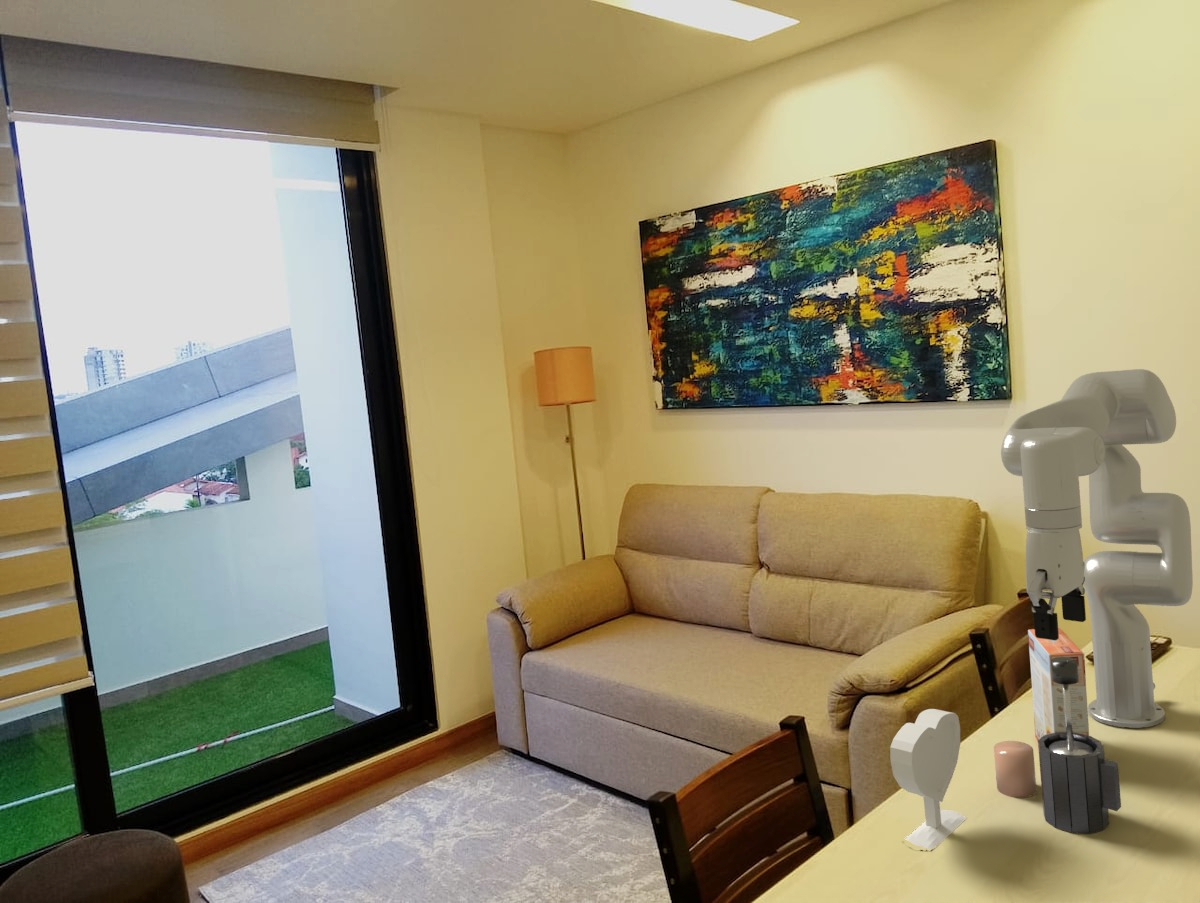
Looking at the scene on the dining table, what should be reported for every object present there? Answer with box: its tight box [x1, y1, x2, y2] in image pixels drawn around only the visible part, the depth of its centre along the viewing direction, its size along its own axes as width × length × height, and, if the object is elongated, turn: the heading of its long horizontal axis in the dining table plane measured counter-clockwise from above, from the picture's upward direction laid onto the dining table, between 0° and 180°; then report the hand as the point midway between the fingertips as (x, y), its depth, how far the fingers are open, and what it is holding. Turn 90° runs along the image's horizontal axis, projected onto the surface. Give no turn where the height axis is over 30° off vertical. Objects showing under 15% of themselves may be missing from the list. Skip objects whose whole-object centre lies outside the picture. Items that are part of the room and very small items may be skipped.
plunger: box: [1049, 657, 1093, 755], centre depth 141 cm, size 6×6×15 cm
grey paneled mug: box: [1037, 732, 1122, 835], centre depth 141 cm, size 9×11×12 cm
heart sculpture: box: [889, 708, 967, 850], centre depth 144 cm, size 16×5×18 cm, turn 133°
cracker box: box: [1027, 627, 1090, 741], centre depth 162 cm, size 14×6×21 cm, turn 168°
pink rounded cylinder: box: [993, 740, 1037, 799], centre depth 153 cm, size 6×6×7 cm
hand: (1061, 629), depth 139 cm, fingers open, 9 cm apart
